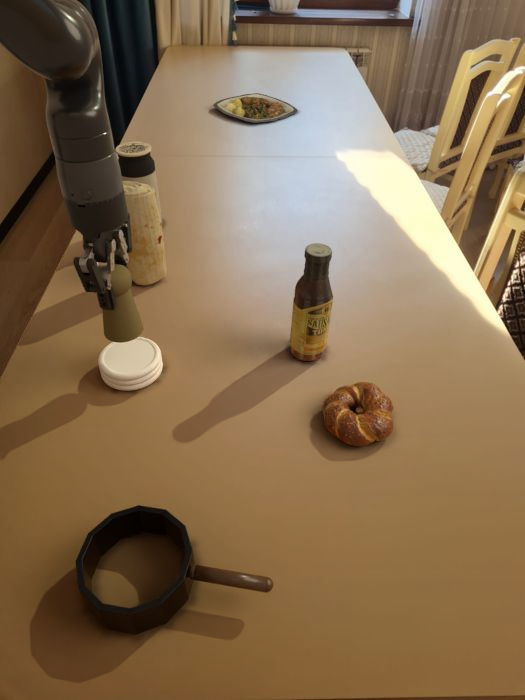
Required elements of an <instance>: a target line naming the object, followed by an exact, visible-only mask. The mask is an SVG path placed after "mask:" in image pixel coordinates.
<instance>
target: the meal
mask: <svg viewBox="0 0 525 700" xmlns="http://www.w3.org/2000/svg"><path fill="white" fill-rule="evenodd" d="M212 106H213V107H214V108H215V109H218V110H219V111H220V112H221V113H222V114H224V115H227V116H230V117H233V118H236V119H239V120H242V121H245V122H248V123H254V124H255V123H257V124H258V123H267V122H277V121H279V120H281V119H286V118H288V117H290V116H293V115H294V114H296V113H297V112H299V111H298V109H297V108H296V107H295V106H293V105H291V104H290V103H288V102H286V101H284V100H282V99H280V98H276V97H273V96H270V95H266V94H264V93H259V92H254V93H247V94H241V95H236V96H231V97H230V96H229V97H226V98H223V99H220V100H217V101H216V102H214V103H213V105H212Z"/></svg>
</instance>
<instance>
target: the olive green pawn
mask: <svg viewBox="0 0 525 700" xmlns="http://www.w3.org/2000/svg"><path fill="white" fill-rule="evenodd" d="M104 266H107V264H105V265H104ZM114 266H115V270H114V271H113V272H112V273H111V282H112V287H113V292H114V297H115V301H116V307H115V309H114V310H105V309H102V308H101V311H102V325H103V335H104V337H105V339H107V340H108V341H110V342H119V343H123V342H129V341H131V340H134V339H136V338H137V337H141V335H142V334H143V332H144V324H143V321H142V318H141V315H140V313H139V309H138V307H137V304H136V301H135V298H134V295H133V293H132V289H131V287H132V284H133V280H132V278H131V273H130V271H129V270H128V269H127V268H126V267H125V266H123V265H120V264H114ZM101 276H102V279H103V280H104V274H103V273H101Z"/></svg>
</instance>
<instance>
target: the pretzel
mask: <svg viewBox="0 0 525 700" xmlns="http://www.w3.org/2000/svg"><path fill="white" fill-rule="evenodd" d="M321 407H322V408H321V412H322V414H323V422H324V427H326V429H327V430H328V432H329V433H331V434H332V435H333V436H334V437H336V438H338V439H339V440H341V441H342V442H343V443H345V444H346V445H347V444H348V445H349V446H350V445H351V446H354V447H365V446H367V445H370V444H372V443H374V442H375V441H377V442H381V441H385V440H387V439H388V438H390V436H391V435H392V434H393V432H394V421H393V419H392V418H391V417H390V415H391V414H392V413H393V410H394V404H393V400H392V399H391V398H390V397H389V396H388V395H387V394H385V393H384V392H383V391H382V390H381V388H380V387H379V386H377V385H376V384H375V383H373V382H370V381H369V382H368V381H360V382H359V381H358V382H356V383H353V384H351V385H349V384H347V385H342V386H339V387H338V388H336V389H335V391H334V392H333V393H331V394H329V395H328V396H327V397H326V398H325V399H324V400H323V402H322V405H321Z"/></svg>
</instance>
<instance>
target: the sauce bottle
mask: <svg viewBox="0 0 525 700" xmlns="http://www.w3.org/2000/svg"><path fill="white" fill-rule="evenodd" d="M332 258H333V250H332V247H330V246H329V245H327V244H324V243H318V242H313V243H310V244H308V245H307V246H306V247H305V249H304V259H305V261H304V268H303V274H302V275H301V276H300V278H299V279H298V280H297V282H296V284H295V288H294V296H293V302H292V312H291V313H292V314H291V324H290V334H289V335H290V336H289V344H290V345H289V351H290V353H291V354H292V356H293V357H294V358H296V359H298V360H300V361H305V362H312V361H317V360H319V359H321V358H322V356H323V355H324V353H325V352H326V348H327V344H328V337H329V332H330V331H329V330H330V323H331V316H332V310H333V309H332V308H333V303H334V302H333V301H334V295H333V290H332V287H331V282H330V276H329V275H330V271H329V270H330V262H331V260H332Z"/></svg>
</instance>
